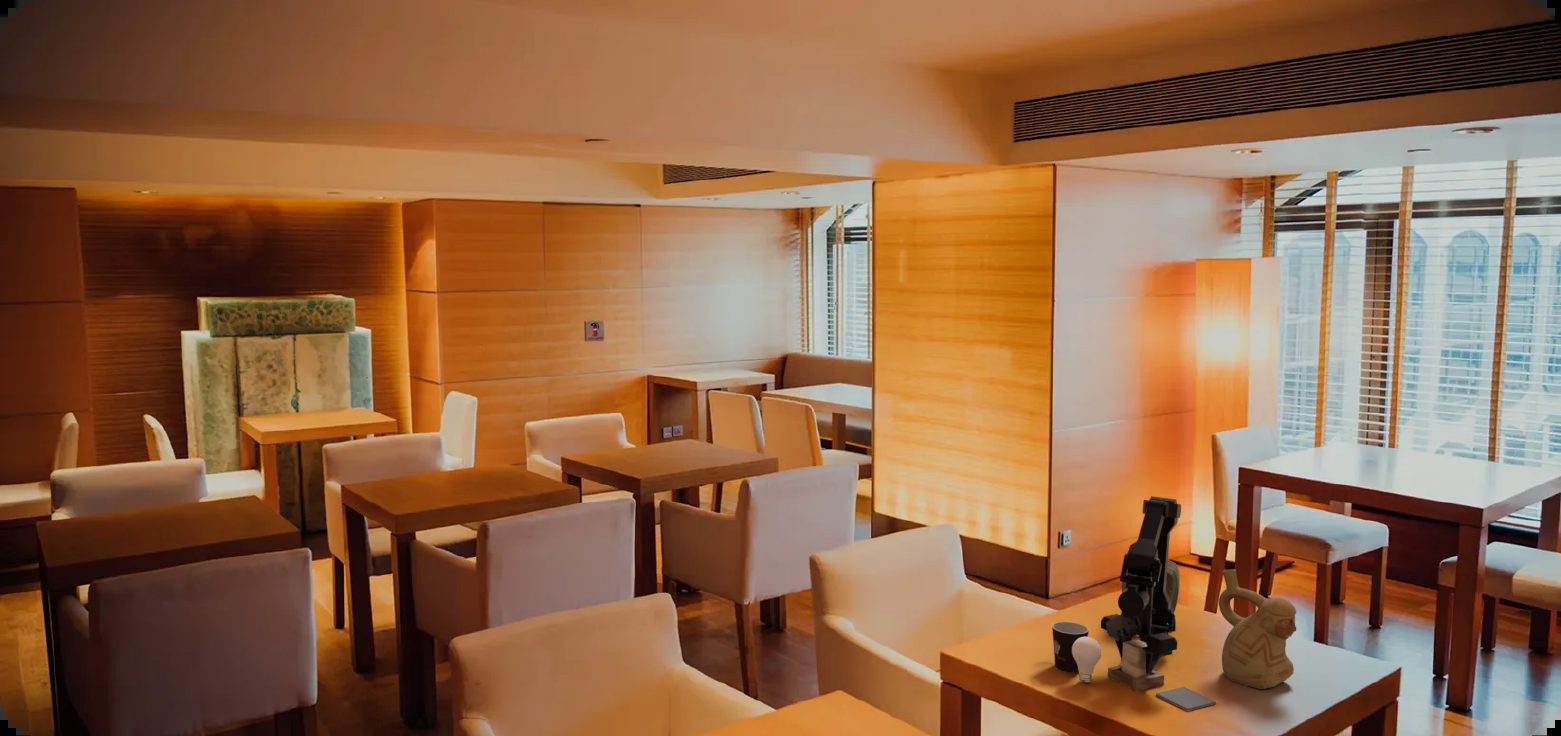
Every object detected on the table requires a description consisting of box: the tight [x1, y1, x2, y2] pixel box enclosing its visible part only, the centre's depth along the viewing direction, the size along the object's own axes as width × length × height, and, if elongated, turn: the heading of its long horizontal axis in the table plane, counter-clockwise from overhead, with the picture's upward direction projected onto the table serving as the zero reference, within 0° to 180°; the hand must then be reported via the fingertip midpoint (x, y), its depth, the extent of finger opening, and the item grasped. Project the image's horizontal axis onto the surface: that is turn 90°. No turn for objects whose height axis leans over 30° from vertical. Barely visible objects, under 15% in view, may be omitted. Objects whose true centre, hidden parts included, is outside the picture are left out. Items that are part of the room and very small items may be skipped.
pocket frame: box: [1107, 664, 1165, 691], centre depth 242 cm, size 9×9×2 cm
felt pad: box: [1155, 686, 1217, 712], centre depth 231 cm, size 9×9×1 cm
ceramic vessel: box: [1218, 568, 1297, 690], centre depth 243 cm, size 17×20×25 cm
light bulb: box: [1072, 636, 1102, 684], centre depth 239 cm, size 7×7×11 cm
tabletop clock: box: [1121, 559, 1180, 624], centre depth 279 cm, size 14×9×25 cm, turn 66°
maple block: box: [1121, 638, 1150, 679], centre depth 241 cm, size 4×4×9 cm
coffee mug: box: [1051, 621, 1090, 674], centre depth 250 cm, size 12×9×10 cm
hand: (1136, 667), depth 241 cm, fingers open, 7 cm apart
